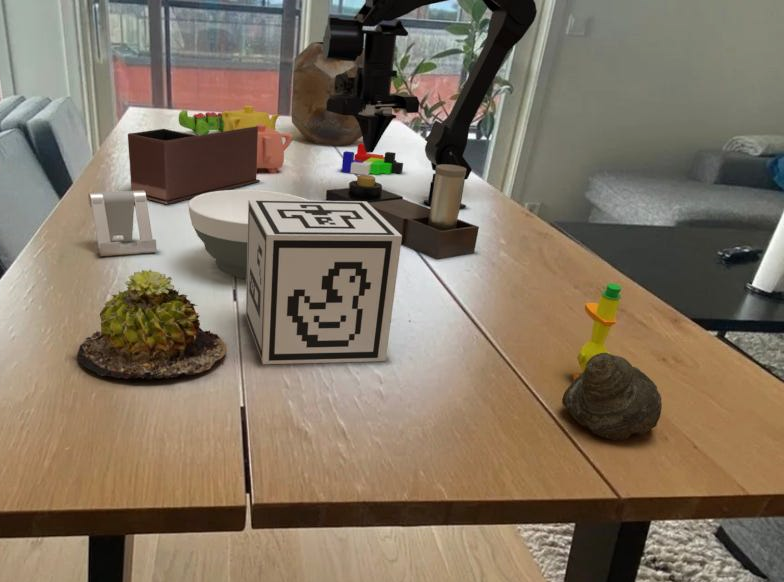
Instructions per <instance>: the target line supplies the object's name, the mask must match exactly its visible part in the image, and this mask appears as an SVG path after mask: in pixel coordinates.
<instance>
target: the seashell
mask: <svg viewBox="0 0 784 582" xmlns="http://www.w3.org/2000/svg"><path fill="white" fill-rule="evenodd" d="M561 403H562V405H563V407H564V408H565V410H566V411H567V412H568V413H569V414H570V415H571V417H572V418H573V419H575V420H576V422H577V423H578V424H580V425H581V426H582V427H587V428H589V430H591V431H592V434H593V435H596V436H597V437H602V438H605V439H609V440H613V441H623V440H624V441H625V440H628V439H629V437H630V436H632V435H636V436H643V435H645V434H647V433H648V432H649V431H651V430H652V429H654V428H656V427H657V425H658V422H659V420H660V418H661V414H662V409H663V408H662V407H663V404H662V396H661V393H659V390H658V386H657V385H656V384H655V382H654V381H653V380H651V378H650V377H649V376H648V375H646V373H644V372H643V371H641V369H640V368H639V367H636V366H633V365H632V364H631V363H630V361H629V360H627V359H625V357H622V356H619V355H615V354H611V353H610V354H609V353H599V354H596V355H594V356H593V357H591V358H590V359H589V360H588V362H587V363H586V366H585V370H584V372H583V373H582V372H581V374H580V375H579V376H578V377H577V378H576V379H575V380H574V379H573V381H572V382H571V384H570V385H569V386H568V387H567V388H566V389H565V391H564V393H563V396H562V398H561Z"/></svg>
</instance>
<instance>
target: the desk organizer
mask: <svg viewBox="0 0 784 582" xmlns="http://www.w3.org/2000/svg"><path fill="white" fill-rule="evenodd" d="M257 139H258V126H256V127H249V128H242V129H236V130H230V131H223V132H220V131H217V132H211V133H210V132H209V133H208V134H204V135H199V134H198V135H197V134H192V133H186V132H181V131H176V130H171V129H167V128H159V129H153V130H145V131H139V132H129V133H127V145H128V157H129V158H128V159H129V173H130V191H142V190H144V191H145V193H146V198H147V201H148V200H149V201H153V202H157V203H159V204H164V205H170V204H174V203H179V202H183V201H186V200H191V199H192V198H194V197H196V196H198V195H201V194H205V193H209V192H215V191H224V190H233V189H236V188H239V187H243V186H247V185H252V184H256V183H259V182H261V181H260V179H257V173H258V168H257ZM256 172H257V173H256Z"/></svg>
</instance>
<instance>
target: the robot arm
mask: <svg viewBox="0 0 784 582" xmlns="http://www.w3.org/2000/svg"><path fill="white" fill-rule="evenodd" d="M448 1H449V0H365V2H364V4H363V5H362V6H361V8H360V9H359V10H358V12H357V13H356V14H355V16H353V18H352V19H351V18H350V19H349V18H339V17H336V16H328V17H327V24H326V26H325V30H324V35H323V36H322V42H323V56H324V59H325V60H340V61H355V60H356V59H357V56H360V55H362V52H363V48H364V55H363V66H362V67H358V69H357V74H356V77H348V75H347V74H338V75H336V78H335V92H336V93H337V94H342V95H330V97H329V98H328V100H327V107H326V111H329V112H333V113H337V114H340V115H352V116H354V117H355V118H356V120H357V121H358V123H359V126H360V129H361V134H362V137H361V138H362V142H363V143H364V147H365V151H366V152H367V153H370V154H373V153H374V151H375V149H376V147H377V145H378V144H379V142H380V140H381V139H382V137H383V135H384V133H385V132H386V130H387V129H388V127H389V126H390V124H391V123H392V122H393V120H394V119H397V116H398V115H397V114H394V113H393V109H394V110H395V109H401V110H404V112H405V113H406V114H418V113H419V110H420V100H419V98H418V96H416V95H413V94H408V93H403V92H402V93H401V92H400V93H399V92H398V93H394V92H393V93H391V90H392V82H393V81H392V79H393V78H397V75H398V70H396V69H394V60H395V55H396V54H395V52H396V46H397V45H396V43H397V37H408V36H409V31H408V30H407V29H406V28H405V26H404V25H403V22H402V21H401V20H398V18H401V17H403V16H405V15H408V14H410V13H411V12H413V11H415V10H416V9H419V8H422V7H424V6H429V5H433V4H438V3H443V2H448ZM481 2H482V3H483V4H484V6H485V8H487V9H488V10H489V11H490V12H491V15H490V19H489V22H488V26H487V28H488V29H487V33H486V34H487V35H486V40H485V43H484V45H483V48H482V49H481V51H480V53H479V55H478V57H477V59H476V60H475V63H474V65H473V67H472V69H471V71H470V73H469V75H468V77H467V79H466V81H465V83H464V85H463V87H462V89H461V91H460V93H459V95H458V97H457V99H456V100H455V103H454V105H453V106H452V109H451V111H450V112H449V114H448V116H447V117H446V118H445V119H444V120H443V121H441V122H440V121H439V120H434V122H433V124H432V127H431V130H430V132H429V134H428V135H427V136H426V137H425V138H424V141H426V143H425V146H424V153H425V156H426V158H427V160H428V161H429V162H430V164H431V165H430V166H431V169H432V171H435V170H436V166H437V165H442V164H447V165H457V166H461V167H464V168H466V175H465V178H464V184H463V190H462V194H463V192H464V187H465V181H466V180H468V179H469V177H470V174H471V172H472V170H473V169H472V167H471V166H470V164H469V163H468V161H467V160H466V159H465V157H464V154H465V151H466V149H467V148H466V147H467V145H468V140H469V133H470V127H471V125H472V122H473V120H474V119H475V117H476V115H477V113H478V112H479V110H480V107H481V105H482V103H483V101H484V100H485V97H486V96H487V94H488V92H489V90H490V88H491V85H492V84H493V82H494V80H495V79H496V77H497V74H498V72H499V70H500V69H501V67H502V65H503V63H504V60H505V59H506V57H507V55H508V53H509V52H510V51H511V49H513V48H514V47H515V46H516V45H517V44H518V43H519V42H520V41H521V40H522V39H523V38H524V36H525V35H526V33H527V32H528V30H529V29H530V28H531V26H532V25H533V24H534V22H535V20H536V17H537V14H538V9H537V4H536V1H535V0H481ZM394 20H395V21H394ZM383 21H384V22H391V21H394V22H393V24H385V23H382V22H383ZM364 27H370V28H374V27H375V29H364ZM435 174H436V173H435V172H434V173H433V174H432V179H431V181H430V186H429V192H428V198H427V199H424V200H423V204H426V205H429V206H431V201H432V194H433V188H434V181H435ZM462 199H463V195H462V196H461V201H460V207H459V209H464V208H465V209H466V208H467V204H464V203H462Z"/></svg>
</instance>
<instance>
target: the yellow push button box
mask: <svg viewBox="0 0 784 582" xmlns="http://www.w3.org/2000/svg"><path fill="white" fill-rule="evenodd" d="M325 192H326V193H325V194H326V195H325V201H365V202H368V203H371V202H381V201H390V200H399V199H404V196H402V195H399V194H396V193H393V192H392V191H388V190H386V189H383V185H382V183H379V182H376V181H375V186H372V187H366V186H359V185H357V180H352V181H350V182H349V183H348V187H343V188H334V189H326V191H325Z"/></svg>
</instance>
